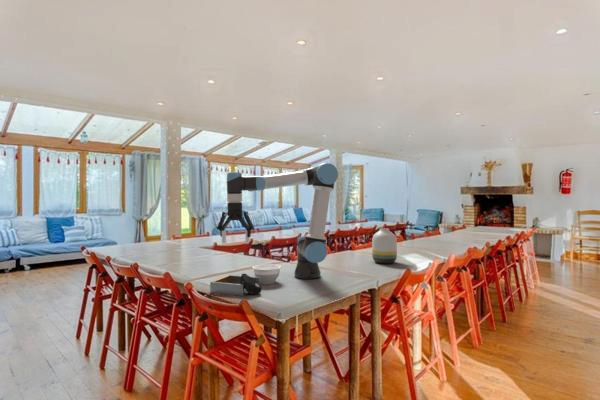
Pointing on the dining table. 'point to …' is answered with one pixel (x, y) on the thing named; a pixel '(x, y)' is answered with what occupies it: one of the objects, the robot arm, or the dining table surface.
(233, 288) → the grey hollow tray
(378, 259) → the vase
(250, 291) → the rock
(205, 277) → the dining table surface
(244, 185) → the robot arm
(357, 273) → the dining table surface
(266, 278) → the bowl
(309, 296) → the dining table surface
